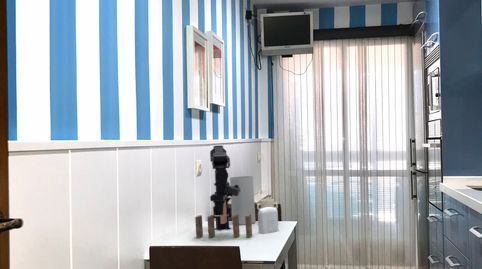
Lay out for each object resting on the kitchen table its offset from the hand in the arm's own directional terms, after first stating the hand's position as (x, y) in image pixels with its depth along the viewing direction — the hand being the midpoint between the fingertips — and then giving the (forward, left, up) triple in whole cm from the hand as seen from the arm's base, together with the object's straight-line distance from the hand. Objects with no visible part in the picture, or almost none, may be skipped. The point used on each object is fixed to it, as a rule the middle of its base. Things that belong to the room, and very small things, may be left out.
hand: (223, 214), depth 235 cm
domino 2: (-5, -3, -11) cm, 12 cm away
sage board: (0, 0, -11) cm, 11 cm away
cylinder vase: (-21, +35, -11) cm, 42 cm away
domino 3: (+5, +3, -11) cm, 12 cm away
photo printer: (+10, +20, -12) cm, 25 cm away
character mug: (-6, +38, -11) cm, 40 cm away
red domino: (0, 0, -4) cm, 4 cm away
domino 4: (+10, +6, -11) cm, 16 cm away
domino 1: (-10, -6, -11) cm, 16 cm away
